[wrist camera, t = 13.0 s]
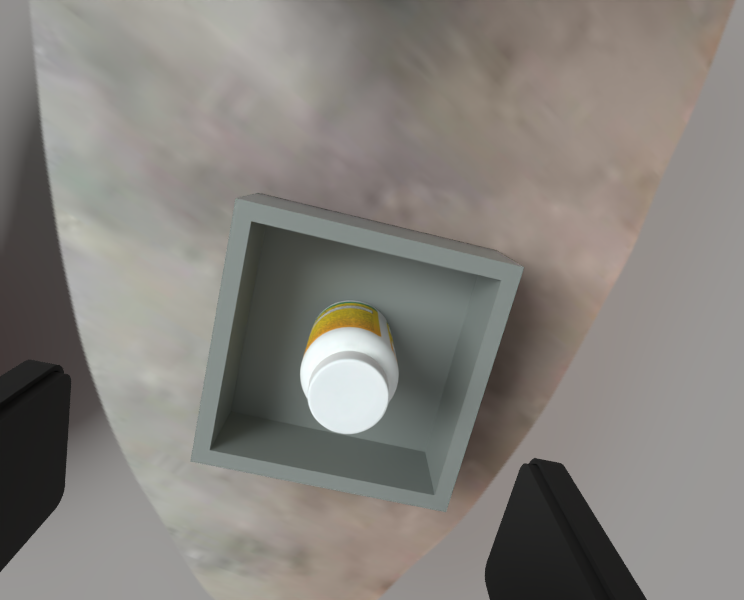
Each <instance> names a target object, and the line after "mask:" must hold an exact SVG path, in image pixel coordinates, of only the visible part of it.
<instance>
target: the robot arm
mask: <svg viewBox="0 0 744 600" xmlns="http://www.w3.org/2000/svg"><path fill="white" fill-rule="evenodd" d="M70 390H71V378H70V376H69V375H68V374H64V371H63V368H62V367H61V366H60V365H55V364H50V363H45V362H40V361H35V360H27V361H24V362H23V363H21V364H19V365H18V366H16V367H15V368H13V369H12V370H10V371H8V372H7V373H5V374H3V375H2V376H0V572H1V571H2V569H3V568H4V567H5V566H6V565H7V564H8V562H9V561H10V560H11V559H12V558H13V557H14V556H15V554H16V553H17V552H18V551H19V550H20V549H21V548H22V547H23V545H24V544H25V543H26V542H27V541H28V540H29V538H30V537H31V536H32V535H33V534H34V533H35V532H36V530H37V529H38V528H39V527H40V526H41V525H42V523H43V522H44V521H45V520H46V519H47V518H48V517H49V516H50V514H51V513H52V512H53V511H54V510H55V509H56V507H57V506H58V504H59V503H60V501H61V498H62V496H63V493H64V488H65V474H66V457H67V441H68V424H69V408H70V392H71V391H70ZM485 582H486V587H487V590H488V594H489V598H490V600H647V599H646V598H645V596H644V594H643V593H642V591H641V589H640V588H639V586H638V585H637V583H636V582H635V580H634V578H633V577H632V575H631V573H630V572H629V570H628V568H627V567H626V565H625V564H624V562H623V560H622V559H621V557H620V556H619V554H618V552H617V551H616V549H615V547H614V546H613V544H612V543H611V541H610V540H609V538H608V536H607V535H606V533H605V531H604V530H603V528H602V526H601V525H600V524H599V522H598V520H597V518H596V517H595V515H594V514H593V512H592V510H591V509H590V507H589V506H588V504H587V502H586V501H585V499H584V497H583V496H582V494H581V493H580V491H579V489H578V488H577V486H576V484H575V483H574V482H573V480H572V478H571V476H570V475H569V473H568V471H567V470H566V468H565V467H564V466H563V465H562V464H561V463H557V462H552V461H546V460H542V459H537V458H534V459H532V460H531V461H530V463H529V464H523V465H522V466H521V468H520V470H519V473H518V476H517V479H516V481H515V484H514V487H513V490H512V493H511V496H510V498H509V502H508V504H507V507H506V510H505V513H504V515H503V518H502V521H501V524H500V527H499V530H498V532H497V535H496V538H495V541H494V544H493V547H492V549H491V552H490V555H489V558H488V560H487V564H486V568H485Z"/></svg>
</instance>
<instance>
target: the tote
mask: <svg viewBox="0 0 744 600" xmlns="http://www.w3.org/2000/svg"><path fill="white" fill-rule="evenodd" d="M523 269H524V267H523V266H521V265H520V264H518V263H516V262H515V261H513V260H511V259H510V258H508V257H506V256H505V255H503V254H501V253H500V252H498V251H497V250H493V249H489V248H484V247H480V246H476V245H472V244H468V243H464V242H460V241H455V240H451V239H447V238H443V237H439V236H435V235H430V234H426V233H422V232H418V231H414V230H410V229H406V228H401V227H397V226H393V225H389V224H385V223H381V222H377V221H372V220H368V219H364V218H360V217H356V216H352V215H348V214H343V213H339V212H335V211H331V210H327V209H323V208H318V207H314V206H310V205H306V204H302V203H298V202H294V201H289V200H285V199H281V198H277V197H273V196H269V195H265V194H260V193H256V194H252V195H247V196H243V197H239V198H236V199H235V205H234V211H233V217H232V223H231V228H230V234H229V240H228V246H227V252H226V258H225V263H224V269H223V275H222V281H221V287H220V292H219V298H218V304H217V310H216V316H215V322H214V327H213V333H212V339H211V345H210V351H209V357H208V362H207V368H206V374H205V380H204V386H203V391H202V397H201V403H200V409H199V415H198V421H197V426H196V432H195V438H194V444H193V450H192V455H191V462H196V463H201V464H206V465H211V466H216V467H221V468H226V469H231V470H236V471H241V472H246V473H251V474H256V475H261V476H266V477H271V478H276V479H282V480H287V481H292V482H297V483H302V484H307V485H312V486H317V487H322V488H327V489H332V490H337V491H342V492H347V493H352V494H357V495H362V496H367V497H372V498H377V499H382V500H387V501H392V502H397V503H402V504H407V505H412V506H417V507H422V508H427V509H432V510H437V511H443V512H446V510H447V507H448V504H449V501H450V498H451V495H452V492H453V489H454V485H455V482H456V479H457V476H458V473H459V470H460V467H461V463H462V460H463V457H464V454H465V451H466V448H467V445H468V442H469V438H470V435H471V432H472V429H473V426H474V423H475V420H476V416H477V413H478V410H479V407H480V404H481V401H482V398H483V395H484V391H485V388H486V385H487V382H488V379H489V376H490V373H491V369H492V366H493V363H494V360H495V357H496V354H497V351H498V348H499V344H500V341H501V338H502V335H503V332H504V329H505V326H506V322H507V319H508V316H509V313H510V310H511V307H512V304H513V301H514V297H515V294H516V291H517V288H518V285H519V282H520V279H521V275H522V272H523ZM348 300H352V301H360V302H364V303H367V304H369V305H371V306H373V307H375V308H376V309H377V310H378V311H380V313H381V314H382V315H383V316H384V317H385V319H386V320H387V322H388V324H389V327H390V330H391V334H392V338H393V344H394V349H395V353H396V358H397V363H398V370H399V377H398V384H397V388H396V391H395V393H394V395H393V397H392V399H391V400H390V402H389V403H388V406H387V409H386V411H385V413H384V415H383V417H382V418H381V419H380V420H379V421H378V422H377V423H376V424H375V425H374V426H373V427H371V428H369V429H367V430H365V431H363V432H360V433H356V434H341V433H336V432H333V431H331V430H328V429H327V428H325V427H324V426H322V425H321V424H320V423H319V422H318V421H317V420H316V419H315V418H314V416H313V415H312V413H311V410H310V408H309V405H308V399H307V398H306V396H305V394H304V391H303V389H302V385H301V380H300V368H301V363H302V360H303V356H304V353H305V349H306V346H307V343H308V340H309V336H310V333H311V330H312V327H313V324H314V322H315V320H316V318H317V317H318V316H319V314H320V313H321V312H322V311H323V310H325V309H326V308H327V307H329V306H330V305H332V304H335V303H337V302H341V301H348Z"/></svg>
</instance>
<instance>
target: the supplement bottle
mask: <svg viewBox="0 0 744 600" xmlns="http://www.w3.org/2000/svg"><path fill="white" fill-rule="evenodd" d="M398 377H399V370H398V363H397V358H396V353H395V349H394V344H393V338H392V334H391V330H390V327H389V324H388V322H387V320H386V319H385V317H384V316H383V315H382V314H381V313H380V311H378V310H377V309H376V308H375V307H373V306H371V305H369V304H367V303H364V302H360V301H352V300H348V301H341V302H337V303H335V304H332V305H330V306H329V307H327V308H326V309H325V310H323V311H322V312H321V313H320V314H319V316H318V317H317V318H316V320H315V322H314V324H313V327H312V330H311V333H310V336H309V340H308V343H307V346H306V349H305V353H304V356H303V360H302V363H301V368H300V380H301V385H302V389H303V391H304V394H305V396H306V398H307V399H308V405H309V408H310V410H311V413H312V415H313V416H314V418H315V419H316V420H317V421H318V422H319V423H320V424H321V425H322V426H324V427H325V428H327V429H328V430H331V431H333V432H336V433H341V434H356V433H360V432H363V431H365V430H367V429H369V428H371V427H373V426H374V425H375V424H376V423H377V422H378V421H379V420H380V419H381V418H382V417H383V415H384V413H385V411H386V409H387V406H388V403H389V402H390V400H391V399H392V397H393V395H394V393H395V391H396V388H397V384H398Z"/></svg>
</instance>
